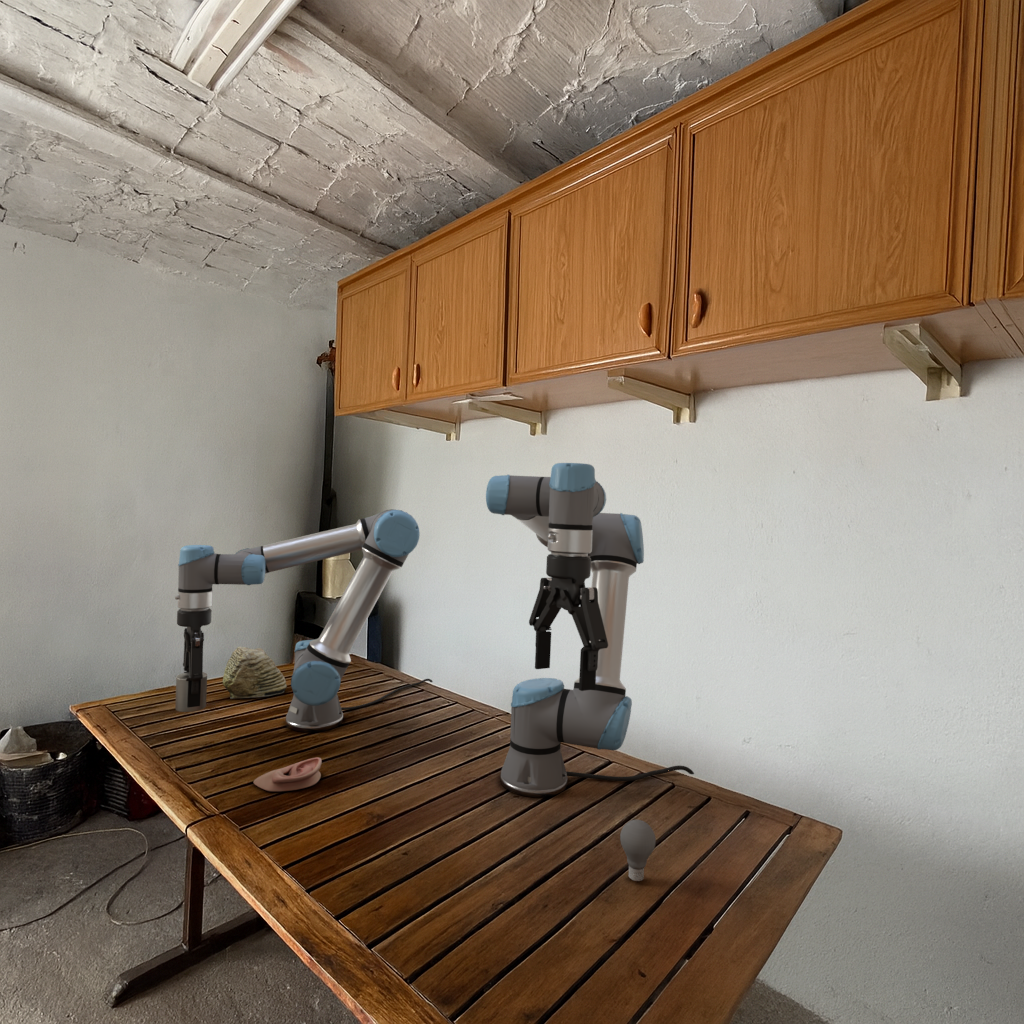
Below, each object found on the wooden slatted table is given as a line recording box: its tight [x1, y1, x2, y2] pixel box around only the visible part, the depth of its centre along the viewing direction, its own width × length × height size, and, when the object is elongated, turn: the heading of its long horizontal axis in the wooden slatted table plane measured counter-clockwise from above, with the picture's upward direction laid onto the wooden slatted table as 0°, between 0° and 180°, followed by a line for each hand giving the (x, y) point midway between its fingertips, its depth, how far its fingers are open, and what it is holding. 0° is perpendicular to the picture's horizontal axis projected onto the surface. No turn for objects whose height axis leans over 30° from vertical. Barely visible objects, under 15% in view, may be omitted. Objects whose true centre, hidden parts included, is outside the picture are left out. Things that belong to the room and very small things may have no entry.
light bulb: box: [619, 819, 657, 882], centre depth 109 cm, size 6×6×10 cm
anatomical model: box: [253, 757, 323, 792], centre depth 140 cm, size 13×4×12 cm
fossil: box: [222, 646, 288, 699], centre depth 198 cm, size 9×18×15 cm, turn 132°
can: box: [174, 671, 208, 713], centre depth 155 cm, size 7×7×8 cm
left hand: (191, 701), depth 155 cm, fingers closed on can, 7 cm apart
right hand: (563, 678), depth 108 cm, fingers open, 13 cm apart
